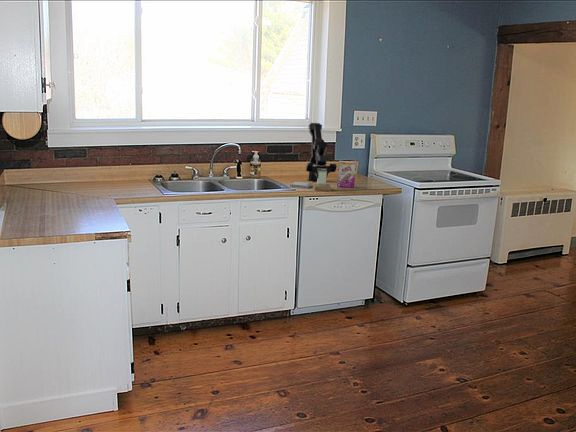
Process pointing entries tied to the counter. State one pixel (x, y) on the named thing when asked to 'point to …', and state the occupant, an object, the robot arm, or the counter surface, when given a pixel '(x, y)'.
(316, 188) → the tan flat block
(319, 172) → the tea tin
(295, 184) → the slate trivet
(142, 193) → the counter surface
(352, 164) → the candy bar box
